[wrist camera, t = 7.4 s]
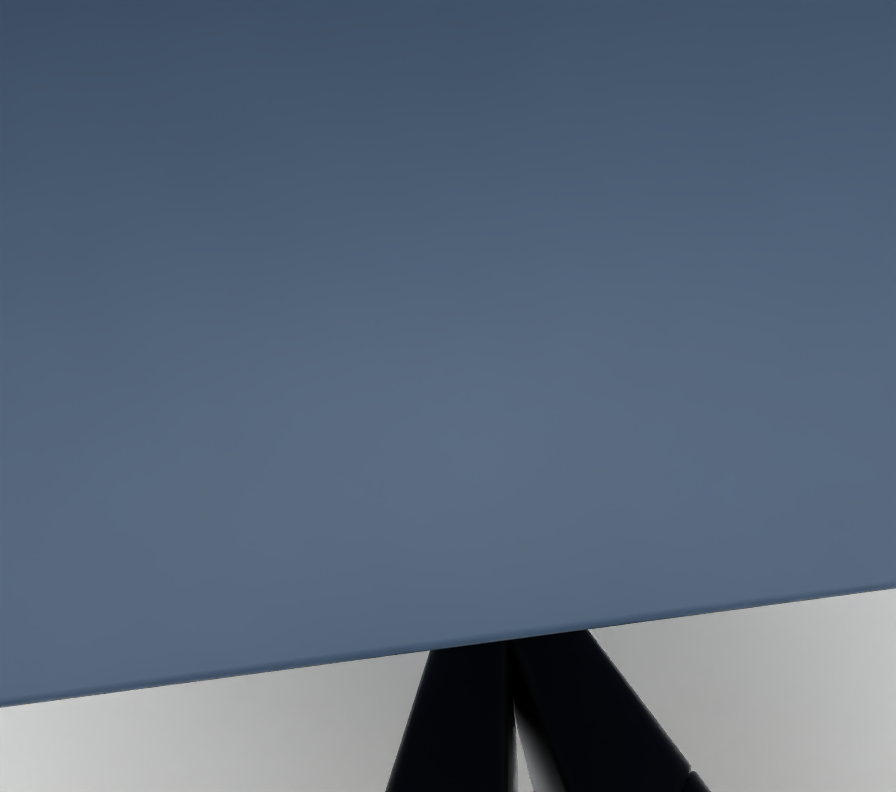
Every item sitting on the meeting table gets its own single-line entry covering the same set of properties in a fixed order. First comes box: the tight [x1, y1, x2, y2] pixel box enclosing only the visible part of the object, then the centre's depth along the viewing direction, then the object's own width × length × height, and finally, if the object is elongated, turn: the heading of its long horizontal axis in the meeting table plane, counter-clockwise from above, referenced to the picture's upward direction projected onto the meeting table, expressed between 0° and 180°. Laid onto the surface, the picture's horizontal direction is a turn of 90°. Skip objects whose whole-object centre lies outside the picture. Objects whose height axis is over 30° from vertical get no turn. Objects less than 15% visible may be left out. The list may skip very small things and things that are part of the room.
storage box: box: [0, 0, 896, 708], centre depth 12 cm, size 12×7×13 cm, turn 7°
